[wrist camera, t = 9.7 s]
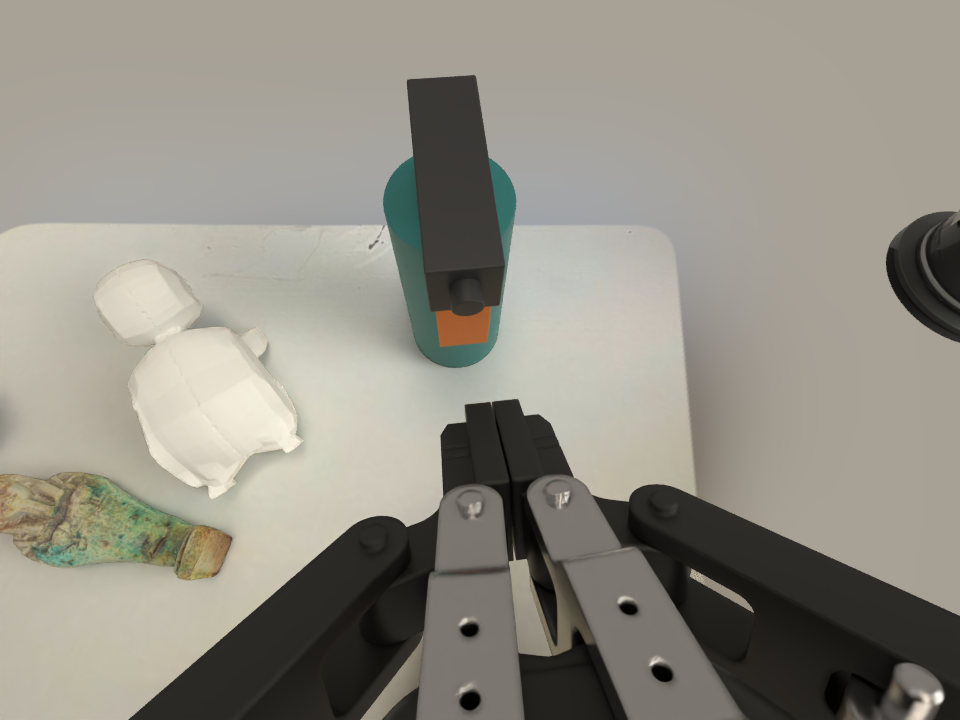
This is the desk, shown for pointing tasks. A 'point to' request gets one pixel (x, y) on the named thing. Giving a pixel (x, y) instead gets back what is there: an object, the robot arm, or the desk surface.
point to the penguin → (194, 379)
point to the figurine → (102, 526)
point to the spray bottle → (450, 217)
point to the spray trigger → (463, 328)
